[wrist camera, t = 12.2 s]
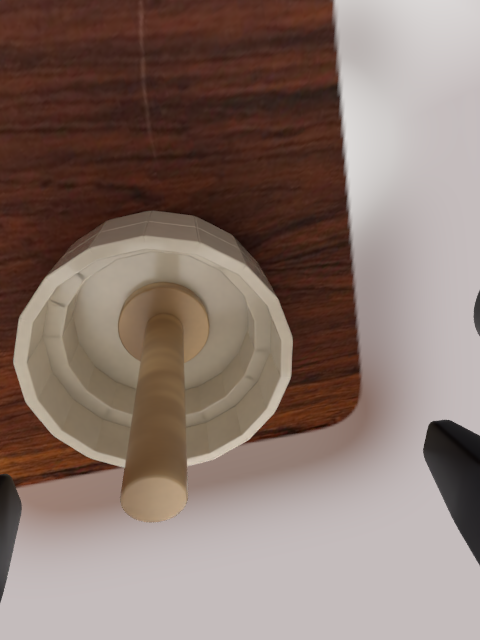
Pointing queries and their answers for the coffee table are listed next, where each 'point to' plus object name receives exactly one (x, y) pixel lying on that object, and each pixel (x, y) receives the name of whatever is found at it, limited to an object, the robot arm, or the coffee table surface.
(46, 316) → the bowl
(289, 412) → the coffee table surface
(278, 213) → the coffee table surface
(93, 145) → the coffee table surface
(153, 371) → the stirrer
